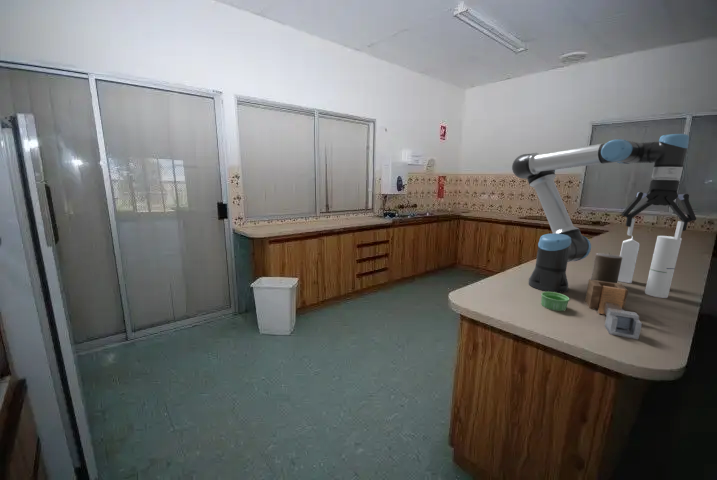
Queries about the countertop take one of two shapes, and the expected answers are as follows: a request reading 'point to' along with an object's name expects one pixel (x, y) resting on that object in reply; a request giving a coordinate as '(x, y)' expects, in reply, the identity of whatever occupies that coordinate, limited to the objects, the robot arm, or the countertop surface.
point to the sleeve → (630, 332)
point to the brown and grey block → (613, 304)
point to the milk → (628, 260)
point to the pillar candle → (606, 267)
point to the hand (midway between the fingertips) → (652, 237)
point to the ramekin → (554, 301)
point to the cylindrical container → (662, 266)
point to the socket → (596, 290)
